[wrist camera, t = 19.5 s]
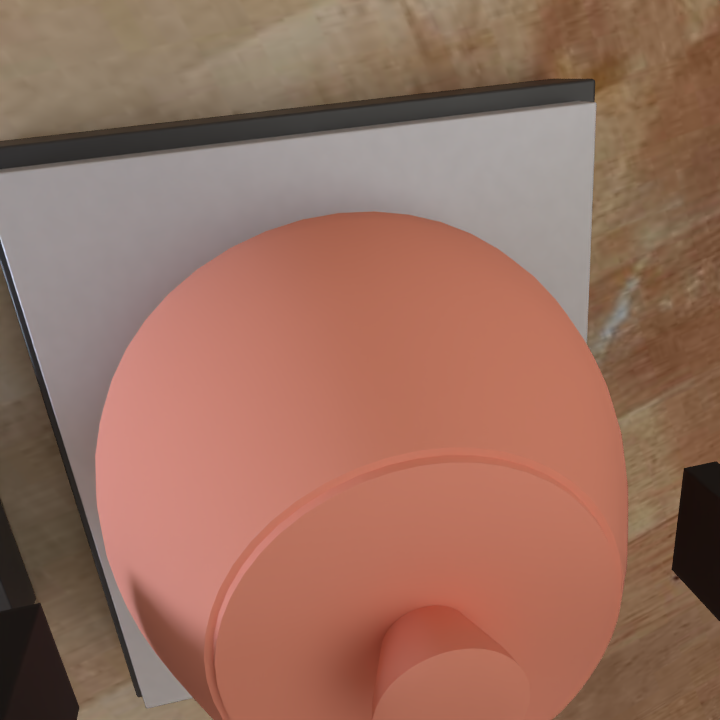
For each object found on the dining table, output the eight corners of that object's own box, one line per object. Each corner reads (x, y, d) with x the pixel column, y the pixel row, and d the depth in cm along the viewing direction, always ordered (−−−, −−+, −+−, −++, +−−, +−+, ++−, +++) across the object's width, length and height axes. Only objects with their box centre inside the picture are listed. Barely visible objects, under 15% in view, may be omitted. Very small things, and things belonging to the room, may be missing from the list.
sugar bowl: (446, 103, 17) (734, 138, 7) (610, 504, 23) (884, 801, 13) (12, 345, 17) (-235, 671, 8) (287, 680, 23) (337, 1093, 14)
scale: (-6, 141, 18) (-52, 155, 15) (554, 78, 20) (616, 78, 17) (144, 643, 25) (133, 723, 22) (546, 556, 28) (589, 618, 24)
